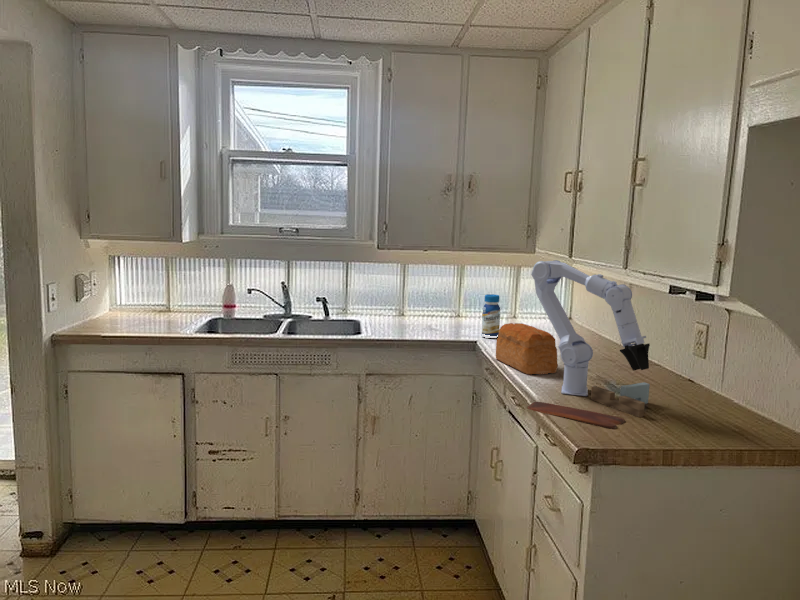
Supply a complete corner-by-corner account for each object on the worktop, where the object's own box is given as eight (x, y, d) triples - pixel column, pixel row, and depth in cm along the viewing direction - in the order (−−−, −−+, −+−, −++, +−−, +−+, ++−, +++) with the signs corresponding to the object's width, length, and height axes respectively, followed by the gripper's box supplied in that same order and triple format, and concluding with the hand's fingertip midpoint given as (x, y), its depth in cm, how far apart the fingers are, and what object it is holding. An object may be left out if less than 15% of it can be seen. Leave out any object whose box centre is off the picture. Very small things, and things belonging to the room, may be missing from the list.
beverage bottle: (499, 336, 277) (501, 294, 275) (499, 339, 269) (501, 296, 266) (481, 335, 279) (483, 293, 276) (480, 338, 271) (482, 295, 268)
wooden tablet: (626, 422, 162) (627, 416, 162) (614, 432, 154) (615, 426, 154) (537, 402, 178) (537, 397, 178) (522, 410, 170) (522, 404, 170)
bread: (523, 357, 236) (525, 320, 234) (560, 373, 211) (563, 332, 209) (491, 358, 232) (493, 321, 230) (526, 376, 207) (528, 334, 205)
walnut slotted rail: (590, 399, 180) (591, 386, 180) (595, 398, 181) (596, 386, 181) (638, 417, 165) (639, 403, 164) (643, 416, 165) (644, 402, 165)
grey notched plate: (624, 407, 173) (626, 387, 172) (619, 405, 175) (620, 385, 174) (648, 403, 178) (649, 384, 177) (642, 401, 180) (644, 382, 179)
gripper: (648, 318, 166) (663, 365, 163) (633, 323, 180) (646, 366, 178) (623, 324, 166) (638, 371, 164) (610, 329, 180) (623, 372, 178)
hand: (640, 369), depth 171 cm, fingers open, 7 cm apart
